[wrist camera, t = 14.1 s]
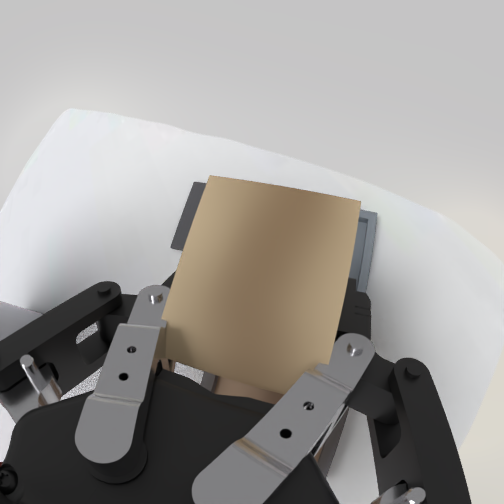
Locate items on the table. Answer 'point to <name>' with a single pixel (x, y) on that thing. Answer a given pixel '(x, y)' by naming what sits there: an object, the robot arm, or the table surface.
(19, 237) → the table surface
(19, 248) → the table surface
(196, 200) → the mat
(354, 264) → the tray
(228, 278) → the tall wooden block
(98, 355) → the robot arm
